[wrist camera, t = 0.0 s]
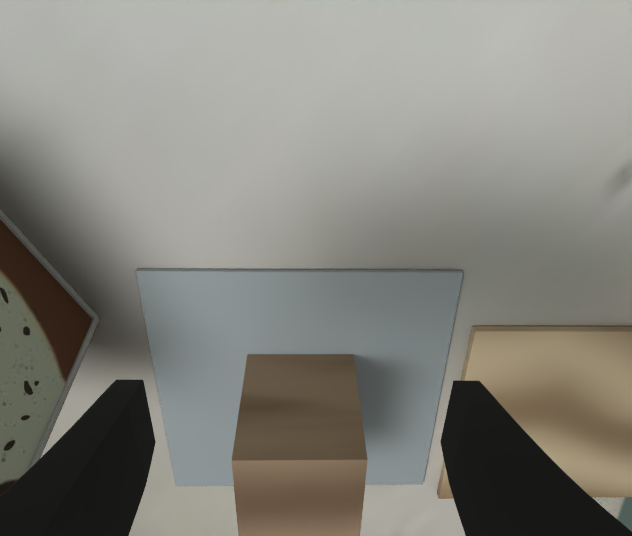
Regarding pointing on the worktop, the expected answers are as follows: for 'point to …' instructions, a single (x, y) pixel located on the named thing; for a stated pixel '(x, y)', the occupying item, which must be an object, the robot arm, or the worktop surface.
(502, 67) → the worktop surface
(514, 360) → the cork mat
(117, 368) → the worktop surface
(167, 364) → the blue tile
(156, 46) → the worktop surface
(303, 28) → the worktop surface
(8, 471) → the food container
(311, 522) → the walnut block
